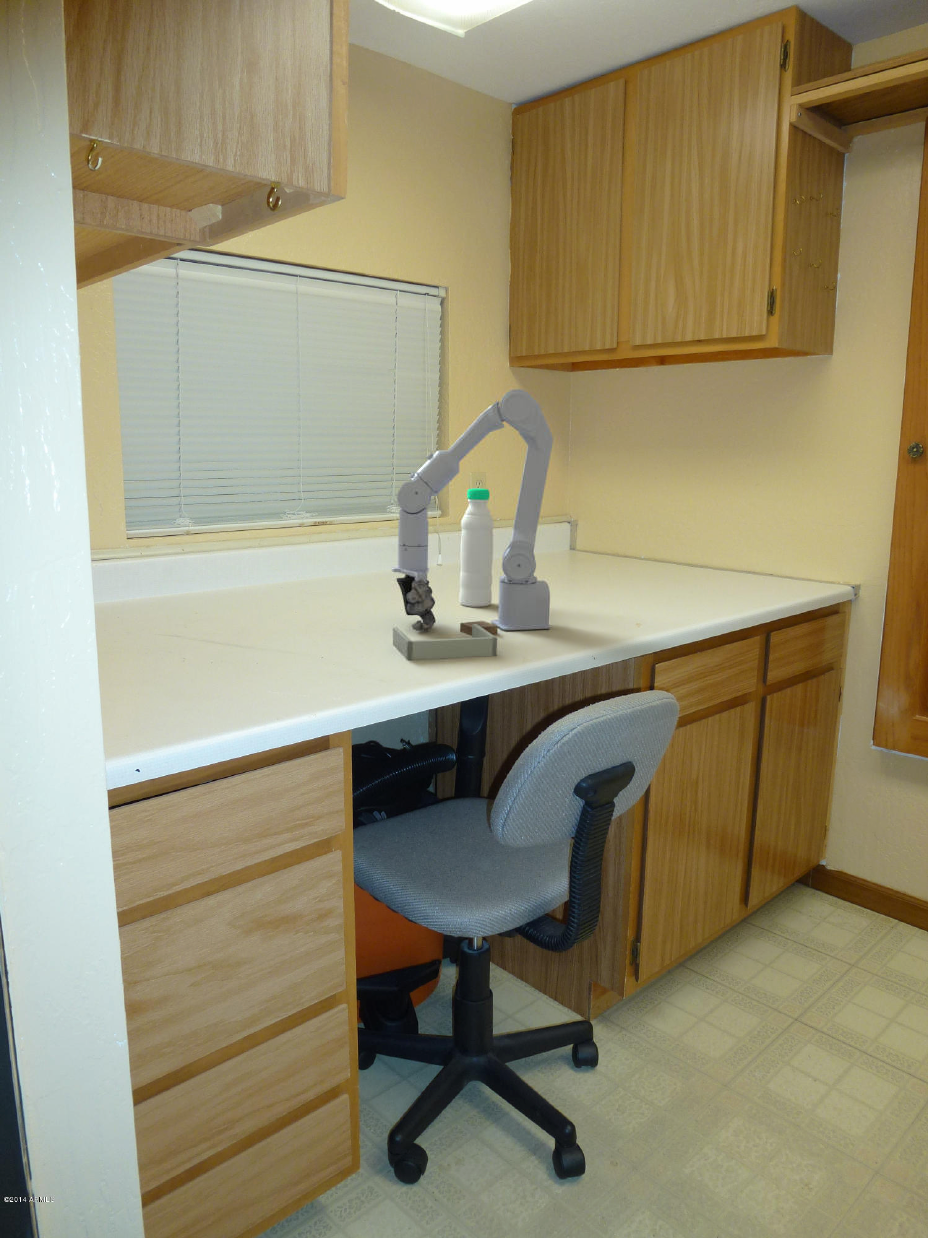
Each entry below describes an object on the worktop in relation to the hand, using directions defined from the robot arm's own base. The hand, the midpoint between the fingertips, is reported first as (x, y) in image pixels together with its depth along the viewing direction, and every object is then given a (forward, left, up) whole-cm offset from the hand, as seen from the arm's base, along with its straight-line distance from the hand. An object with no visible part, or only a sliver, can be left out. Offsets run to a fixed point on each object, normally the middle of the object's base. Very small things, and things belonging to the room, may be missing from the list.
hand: (412, 614), depth 168 cm
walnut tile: (-10, +11, -2) cm, 15 cm away
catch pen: (0, +23, -2) cm, 23 cm away
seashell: (0, +7, -2) cm, 7 cm away
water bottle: (-18, -16, -2) cm, 24 cm away
